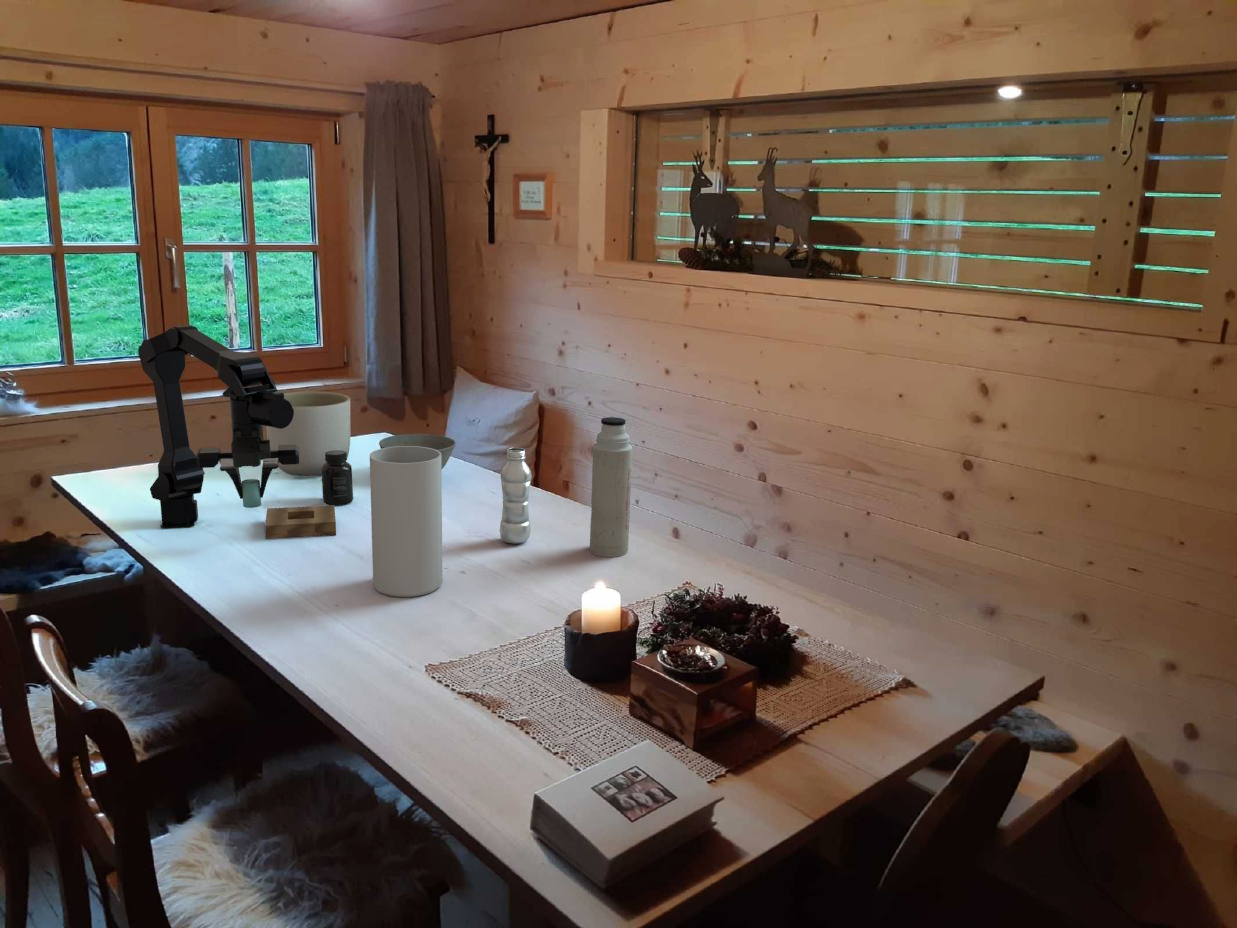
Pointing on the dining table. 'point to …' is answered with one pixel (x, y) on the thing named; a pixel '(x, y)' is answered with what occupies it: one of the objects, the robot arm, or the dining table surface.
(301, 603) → the dining table surface
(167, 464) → the robot arm
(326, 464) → the supplement bottle
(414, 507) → the cylinder vase
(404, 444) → the bowl
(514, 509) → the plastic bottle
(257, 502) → the pin
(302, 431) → the planter
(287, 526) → the bore block
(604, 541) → the thermos bottle
